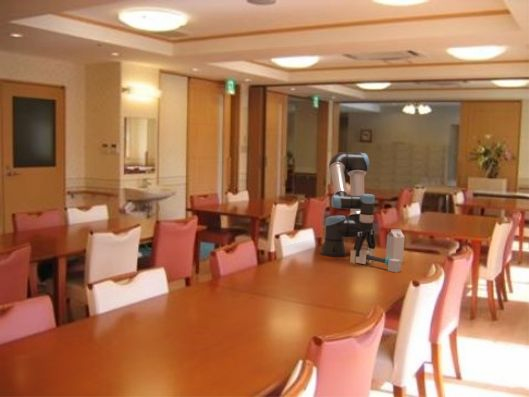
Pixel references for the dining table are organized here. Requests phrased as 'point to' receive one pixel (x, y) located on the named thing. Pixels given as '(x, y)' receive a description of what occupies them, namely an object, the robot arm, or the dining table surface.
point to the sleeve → (363, 256)
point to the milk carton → (395, 244)
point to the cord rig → (393, 264)
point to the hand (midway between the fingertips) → (363, 261)
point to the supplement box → (366, 246)
